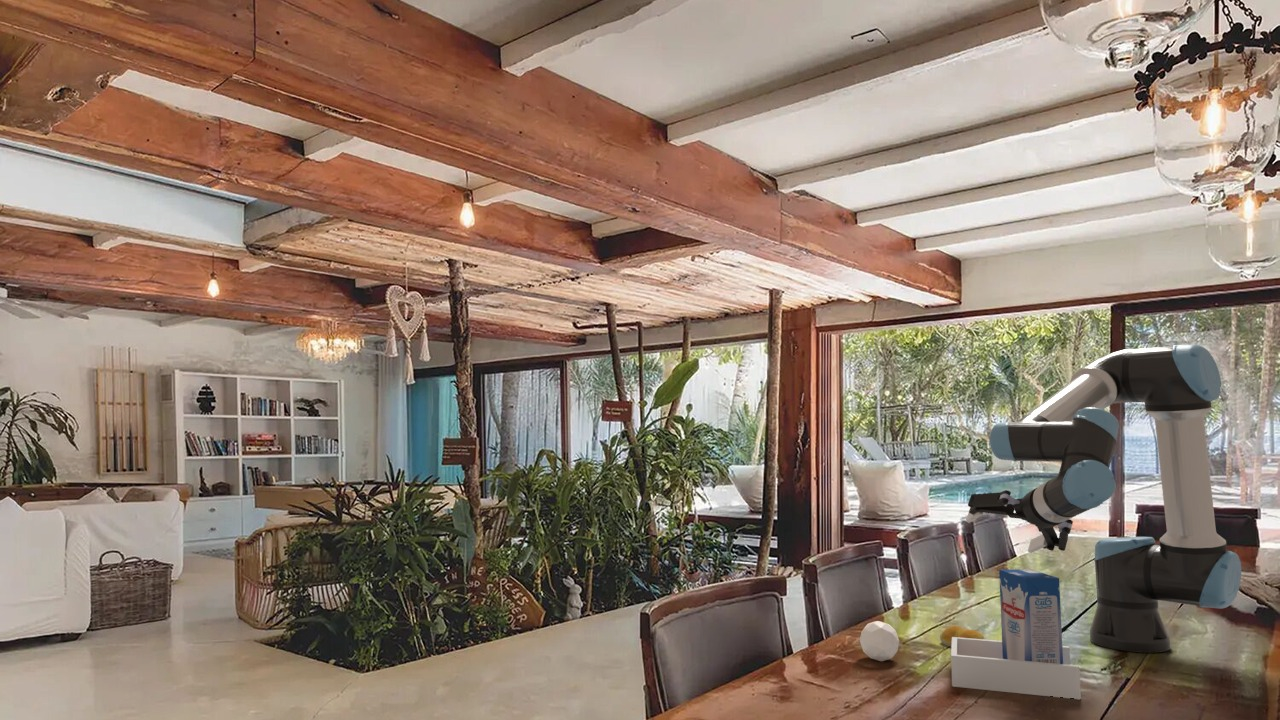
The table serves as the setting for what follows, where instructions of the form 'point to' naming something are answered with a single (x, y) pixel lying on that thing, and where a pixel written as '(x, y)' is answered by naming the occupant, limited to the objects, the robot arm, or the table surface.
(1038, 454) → the robot arm
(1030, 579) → the milk carton
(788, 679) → the table surface
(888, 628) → the geometric ball
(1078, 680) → the plastic channel
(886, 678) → the table surface
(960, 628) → the bread roll
